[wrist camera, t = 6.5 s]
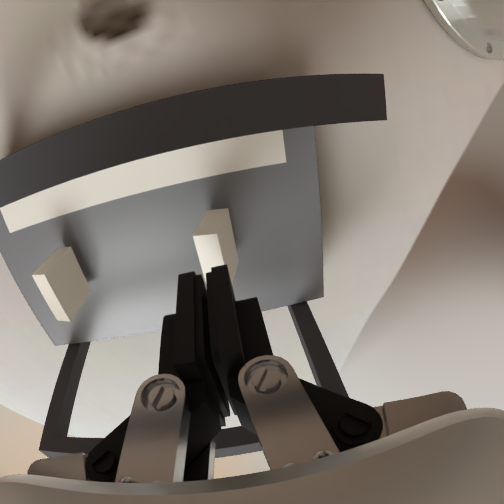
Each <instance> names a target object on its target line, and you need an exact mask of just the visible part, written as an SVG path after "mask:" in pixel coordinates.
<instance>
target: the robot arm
mask: <svg viewBox="0 0 504 504" xmlns="http://www.w3.org/2000/svg"><path fill="white" fill-rule="evenodd" d="M424 1H425V3H426V5H427V6H428V8H429V9H430V11H431V12H432V13H433V15H434V16H435V18H436V19H437V20H438V22H439V23H440V24H441V25H442V27H443V28H444V29H445V30H446V32H447V33H448V34H449V35H450V36H451V37H453V38H454V39H455V41H456V42H457V43H459V44H460V45H461V46H463V47H464V48H465V49H467V50H468V51H469V52H471V53H473V54H475V55H477V56H479V57H483V58H486V59H494V60H503V59H504V0H424ZM206 286H207V290H206V287H205V283H204V280H203V277H202V274H199V275H196V273H195V271H192V272H188V273H183V274H179V275H178V287H177V301H176V313H175V314H170V315H165V316H164V317H163V324H162V335H161V346H160V358H159V372H158V375H155V376H153V377H150V378H149V379H147V380H146V381H144V382H143V383H142V385H141V386H140V387H139V389H138V391H137V393H136V396H135V400H134V404H133V407H132V411H131V415H130V416H129V417H128V418H127V419H125V420H124V421H123V422H122V423H121V424H120V425H119V426H118V427H117V428H115V429H114V430H113V431H112V432H111V433H110V434H109V435H108V436H106V437H105V438H104V439H103V440H102V441H101V442H100V443H99V444H97V445H96V446H95V447H94V448H93V449H92V450H91V451H90V453H89V454H84V453H83V452H81V453H76V454H70V455H65V456H59V457H53V458H47V459H40V460H37V461H35V462H34V463H32V464H31V465H30V467H29V469H28V474H17V475H9V476H4V477H1V478H0V504H504V411H503V410H500V409H495V408H475V409H467V408H466V405H465V403H464V401H463V400H462V398H461V397H459V396H458V395H457V394H456V393H453V392H449V391H446V392H439V393H434V394H429V395H425V396H420V397H415V398H409V399H404V400H398V401H393V402H387V403H384V404H383V406H379V407H371V406H369V405H367V404H364V403H362V402H359V401H356V400H353V399H351V398H348V397H345V396H342V395H340V394H337V393H335V392H332V391H329V390H327V389H324V388H322V387H319V386H316V385H314V384H311V383H309V382H307V381H304V380H302V379H299V378H298V377H297V375H296V373H295V371H294V369H293V367H292V366H291V365H290V364H289V362H288V361H286V360H285V359H283V358H281V357H278V356H274V355H273V353H272V350H271V346H270V342H269V339H268V335H267V331H266V328H265V324H264V320H263V317H262V313H261V309H260V306H259V302H258V299H257V297H254V298H249V299H244V300H240V301H236V300H235V296H234V291H233V287H232V283H231V279H230V275H229V271H228V266H227V264H225V265H221V266H216V267H211V272H208V273H206ZM228 400H229V402H228ZM229 403H230V405H231V407H232V410H233V412H234V414H235V415H237V416H238V418H239V421H240V423H241V425H242V427H244V428H246V429H248V430H249V431H251V432H253V433H255V434H256V435H257V438H258V440H259V443H260V445H261V448H262V450H263V453H264V455H265V458H266V460H267V463H268V465H269V467H270V470H269V471H264V472H258V473H253V474H247V475H240V476H234V477H226V478H219V479H213V477H214V460H215V445H216V443H215V436H216V435H217V434H218V433H219V432H220V431H221V427H222V426H226V425H225V417H227V416H230V409H229Z"/></svg>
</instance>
